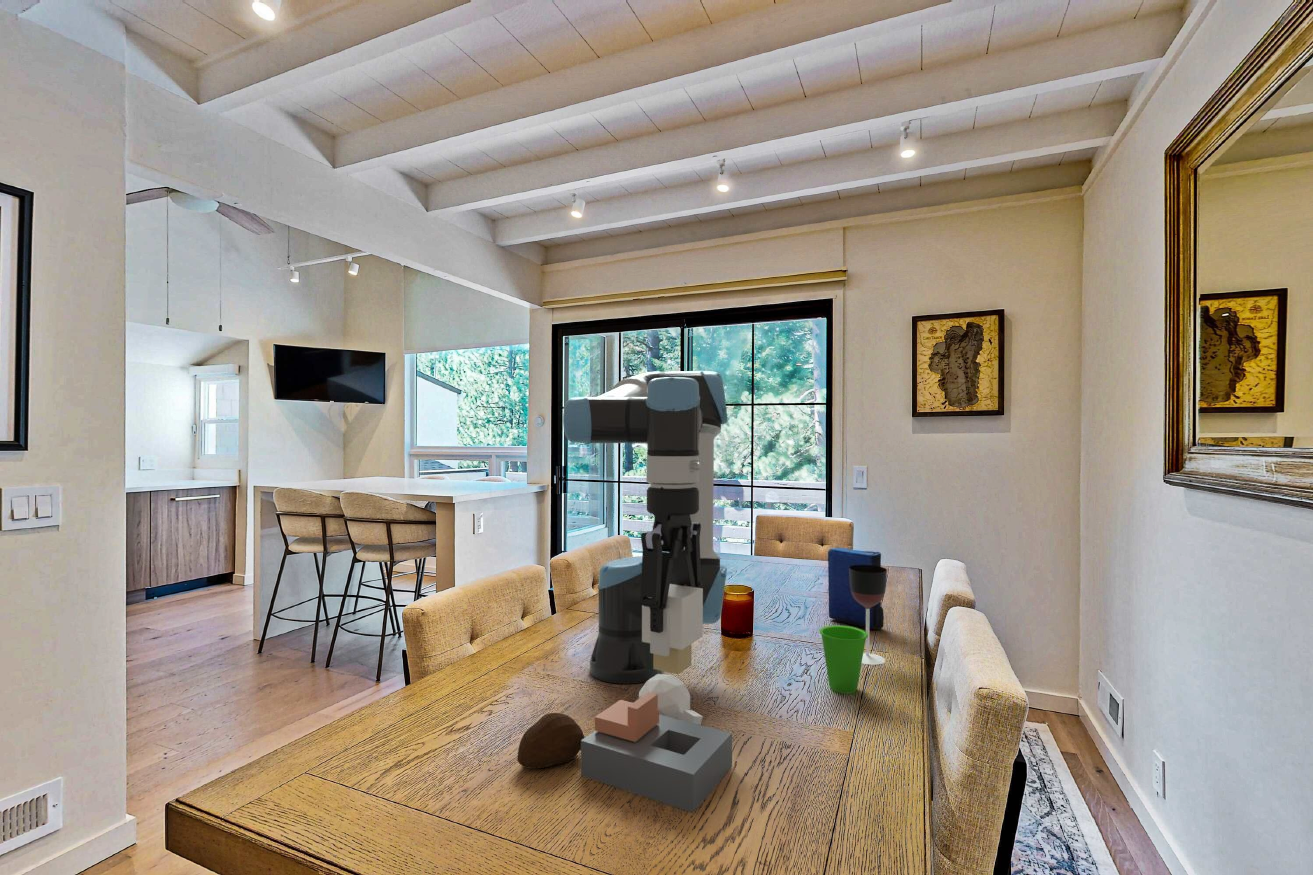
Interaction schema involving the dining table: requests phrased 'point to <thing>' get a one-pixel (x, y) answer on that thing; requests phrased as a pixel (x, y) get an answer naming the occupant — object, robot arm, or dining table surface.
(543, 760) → the potato
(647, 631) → the plug
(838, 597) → the book
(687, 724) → the socket board
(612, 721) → the orange l-shaped block
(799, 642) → the dining table surface
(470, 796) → the dining table surface
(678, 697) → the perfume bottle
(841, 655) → the cup
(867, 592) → the wineglass
